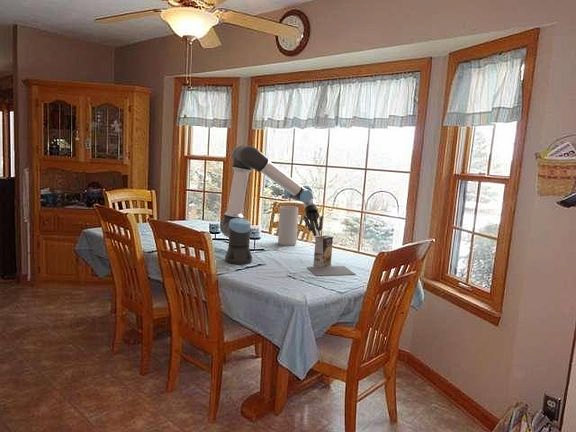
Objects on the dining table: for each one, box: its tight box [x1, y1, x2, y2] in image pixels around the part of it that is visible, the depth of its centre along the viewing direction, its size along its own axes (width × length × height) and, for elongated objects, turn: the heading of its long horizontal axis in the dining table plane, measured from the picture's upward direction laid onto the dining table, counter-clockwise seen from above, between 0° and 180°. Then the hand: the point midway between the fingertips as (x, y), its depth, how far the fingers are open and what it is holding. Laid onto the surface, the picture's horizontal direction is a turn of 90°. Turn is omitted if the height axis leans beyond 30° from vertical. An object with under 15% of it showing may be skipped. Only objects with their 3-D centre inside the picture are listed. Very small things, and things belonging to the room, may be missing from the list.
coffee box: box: [313, 235, 334, 267], centre depth 250 cm, size 9×6×16 cm
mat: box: [306, 265, 356, 277], centre depth 239 cm, size 22×16×1 cm
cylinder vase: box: [277, 205, 299, 247], centre depth 299 cm, size 12×12×25 cm
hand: (318, 240), depth 259 cm, fingers closed
